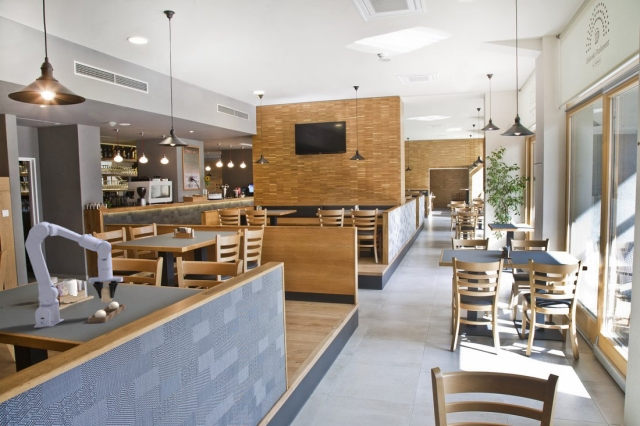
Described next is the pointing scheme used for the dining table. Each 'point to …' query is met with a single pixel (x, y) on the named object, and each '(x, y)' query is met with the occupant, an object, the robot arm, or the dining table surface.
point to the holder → (107, 314)
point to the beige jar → (105, 295)
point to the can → (71, 285)
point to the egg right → (113, 305)
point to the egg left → (100, 313)
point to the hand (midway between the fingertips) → (106, 297)
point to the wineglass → (54, 280)
